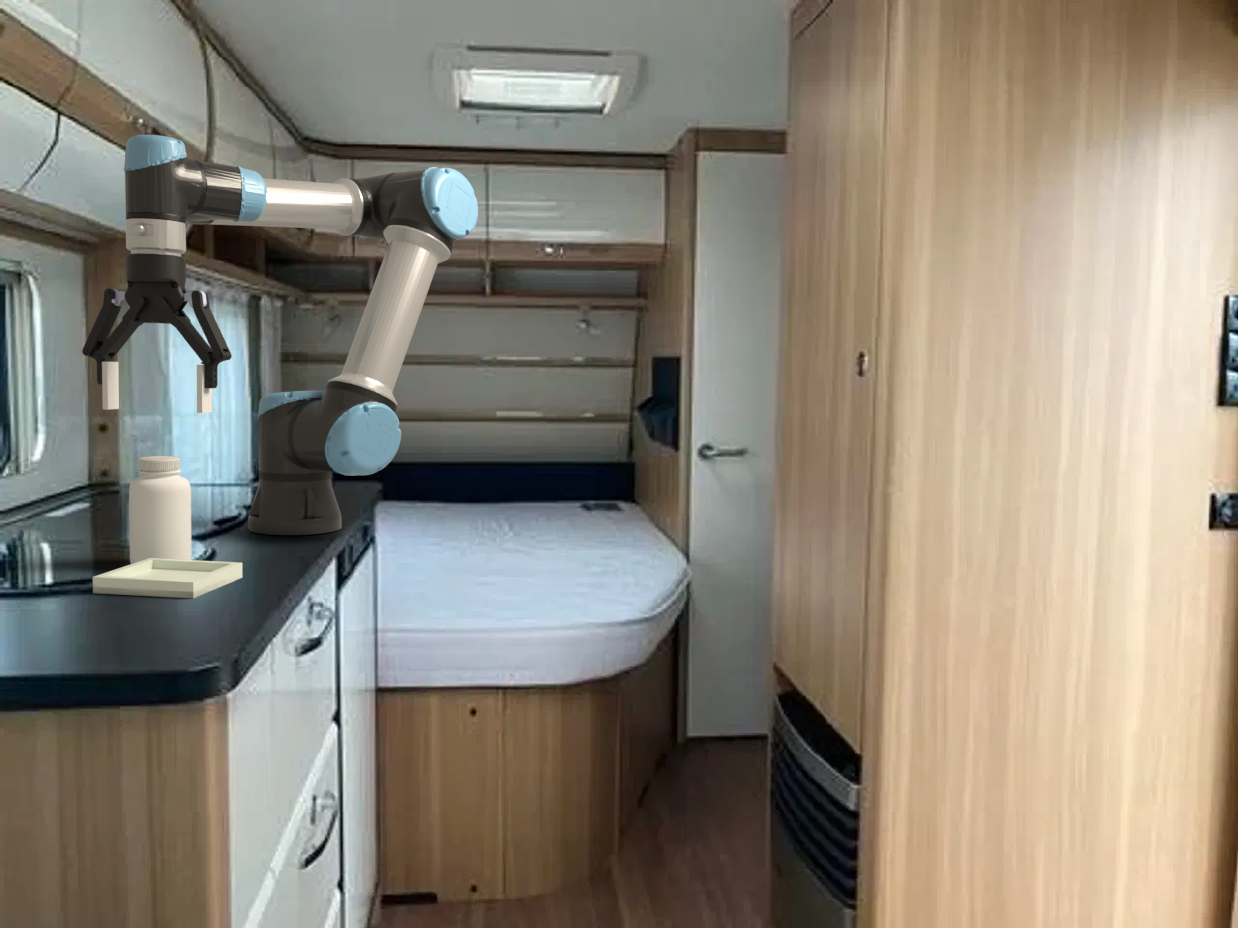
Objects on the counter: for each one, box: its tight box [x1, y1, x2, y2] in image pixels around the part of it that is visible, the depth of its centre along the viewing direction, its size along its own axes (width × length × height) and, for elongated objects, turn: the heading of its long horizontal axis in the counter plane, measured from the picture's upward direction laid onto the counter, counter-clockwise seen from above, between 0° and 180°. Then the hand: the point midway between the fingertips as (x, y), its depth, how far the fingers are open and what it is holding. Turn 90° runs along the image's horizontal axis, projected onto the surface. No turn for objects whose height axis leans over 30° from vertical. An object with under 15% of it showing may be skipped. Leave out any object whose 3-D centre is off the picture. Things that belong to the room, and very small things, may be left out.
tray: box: [92, 558, 243, 599], centre depth 141 cm, size 13×13×2 cm
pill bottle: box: [128, 455, 192, 564], centre depth 153 cm, size 8×8×15 cm
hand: (157, 411), depth 152 cm, fingers open, 13 cm apart
